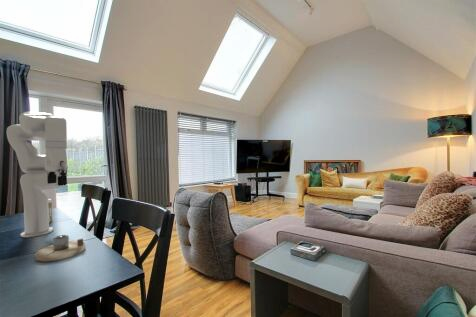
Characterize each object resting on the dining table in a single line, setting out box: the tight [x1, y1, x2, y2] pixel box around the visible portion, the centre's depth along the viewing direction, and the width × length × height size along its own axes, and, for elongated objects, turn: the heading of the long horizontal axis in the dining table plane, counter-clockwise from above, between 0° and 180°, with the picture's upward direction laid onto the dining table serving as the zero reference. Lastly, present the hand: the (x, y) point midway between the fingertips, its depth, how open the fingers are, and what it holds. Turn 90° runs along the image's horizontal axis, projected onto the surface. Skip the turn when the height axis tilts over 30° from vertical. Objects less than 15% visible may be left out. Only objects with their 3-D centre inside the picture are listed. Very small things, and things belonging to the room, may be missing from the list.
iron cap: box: [52, 234, 70, 251], centre depth 93 cm, size 5×5×5 cm
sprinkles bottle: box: [48, 198, 53, 222], centre depth 137 cm, size 5×5×13 cm
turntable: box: [34, 238, 86, 262], centre depth 93 cm, size 16×16×4 cm
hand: (57, 184), depth 101 cm, fingers open, 9 cm apart
